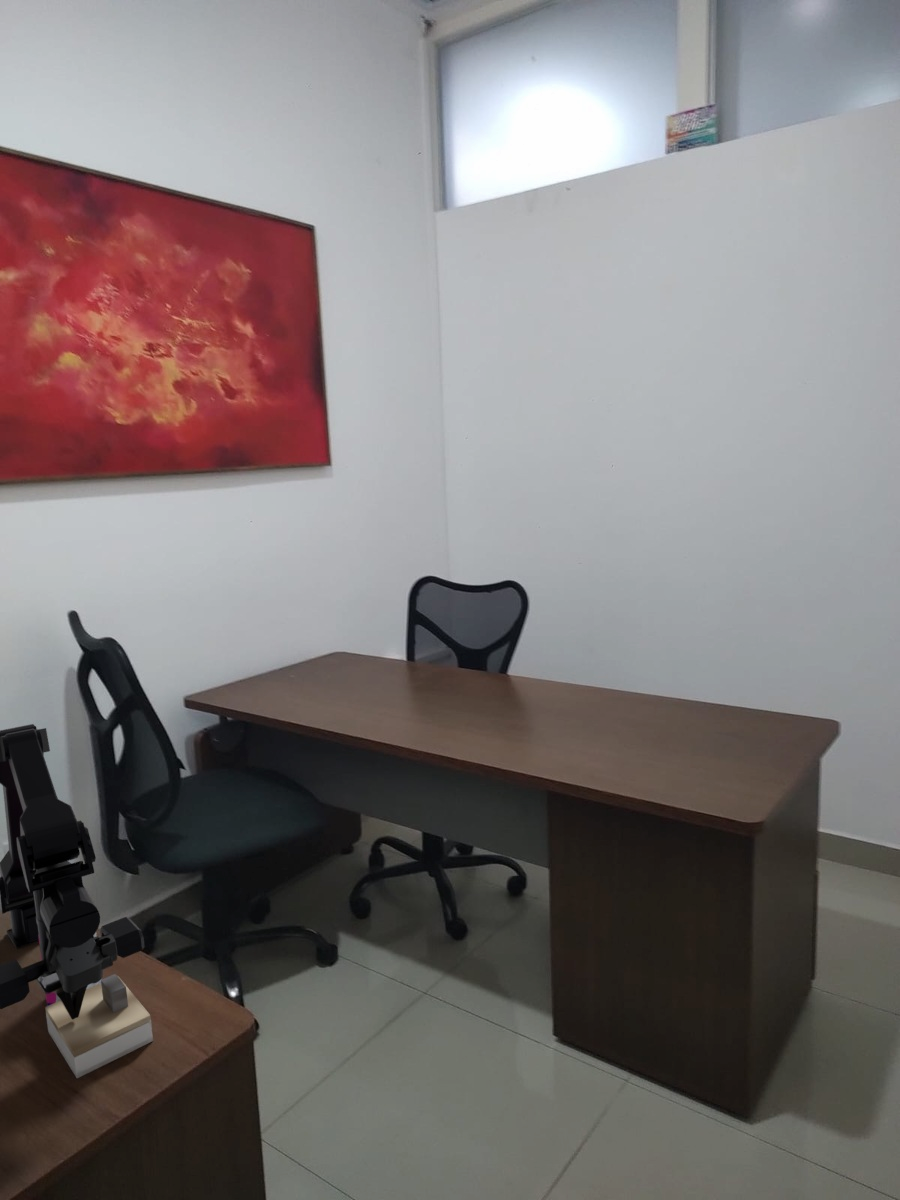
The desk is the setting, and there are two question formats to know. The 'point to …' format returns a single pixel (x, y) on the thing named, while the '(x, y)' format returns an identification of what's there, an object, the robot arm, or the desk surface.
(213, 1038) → the desk surface
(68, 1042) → the lid
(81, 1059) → the white storage tray
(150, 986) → the desk surface
